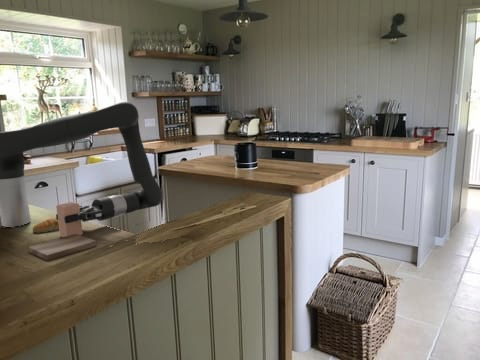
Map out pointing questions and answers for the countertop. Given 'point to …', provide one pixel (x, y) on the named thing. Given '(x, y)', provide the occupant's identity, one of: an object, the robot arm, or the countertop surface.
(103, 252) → the countertop surface
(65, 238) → the walnut board
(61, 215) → the tall block
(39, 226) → the pastry
